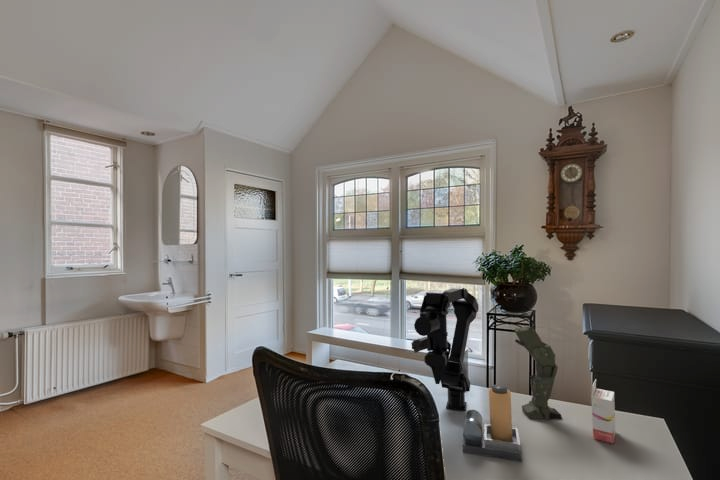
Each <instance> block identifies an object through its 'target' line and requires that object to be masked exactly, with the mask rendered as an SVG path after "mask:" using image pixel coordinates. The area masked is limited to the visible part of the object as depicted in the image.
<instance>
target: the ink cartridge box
mask: <svg viewBox="0 0 720 480" xmlns="http://www.w3.org/2000/svg"><path fill="white" fill-rule="evenodd" d="M615 406H616V405H615V391H612V390H605V389H601V388H597V379H596V378H595V379H594V381H593V383H592V385H591V415H592V419H591V420H592V434H593V437H592V438H593V440H598V441H601V442H606V443H609V444H614V442H615V441H614V440H615V437H616V432H617V429H616V412H615V411H616V409H615V408H616V407H615Z"/></svg>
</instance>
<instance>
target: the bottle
mask: <svg viewBox="0 0 720 480" xmlns="http://www.w3.org/2000/svg"><path fill="white" fill-rule="evenodd" d="M511 394H512V393H511V390H510V389H508V387H507V386H505V385H502V384H493V385H491V387H490V388H489V389H488V397H489V398H488V402H489V403H488V404H489V425H490V433H491V439H494V440H501V441H508V442H513V438H512V428H513V421H512V419H513V418H512V417H513V416H512V395H511Z"/></svg>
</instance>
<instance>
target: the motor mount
mask: <svg viewBox="0 0 720 480" xmlns="http://www.w3.org/2000/svg"><path fill="white" fill-rule="evenodd" d="M463 422H464V424H463V431H462V435H463V436H462V453H465V454H469V455H470V454H471V455H477V456H483V457H489V458H496V459H501V460H508V461H509V460H510V461H516V462H519V463H520V462H522V450H521V449H522V448H521V441H520V434H519V430H518V427H512V438H513V442H508V441H501V440H494V439H491V433H490V424H487V423H484V426H483V417H482V414H481V413H480V412H479V411H478V410H476V409H469V410H466V412H465V415H464V421H463Z"/></svg>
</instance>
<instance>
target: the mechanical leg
mask: <svg viewBox="0 0 720 480" xmlns="http://www.w3.org/2000/svg"><path fill="white" fill-rule="evenodd" d="M513 331H514V332H515V334H516V336H517V338H518V339H515V340H514V342H515V343H517V344H518V345H520V346H522V347H523V348H525V350H526V351H527V352H528V354H530V356H531V357H532V359H533V361H535V366H534V367H535V372H536V374H534V373H533V374H532V375H530V376H529V378H530V388H531V391H532V393H533V394H532V396H531V400H529V401H528V403H525V404H523V405H521V410H522V412H523V413H524V414H525V416H527V418H528V419H545V420H555V419H556V420H560V419H561V420H562V418H563V417H562V414H561V413H560V412H559V411H558V410H557V409H556V408H553V407H550V406H549V399H550V398H551V396H552V392H553V387H554V382H555V378H556V375H557V372H558V367H559V366H558V365H557V364H556V353H555V352H554V351H553V348H552V347H551V345H549V344H547V343H546V342H544V341H542V339H541V337H540V336H539V333H538V332H537V331H536V330H535V328H534V327H532V326H530V325H525V326H523V327H515V329H514V330H513Z"/></svg>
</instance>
